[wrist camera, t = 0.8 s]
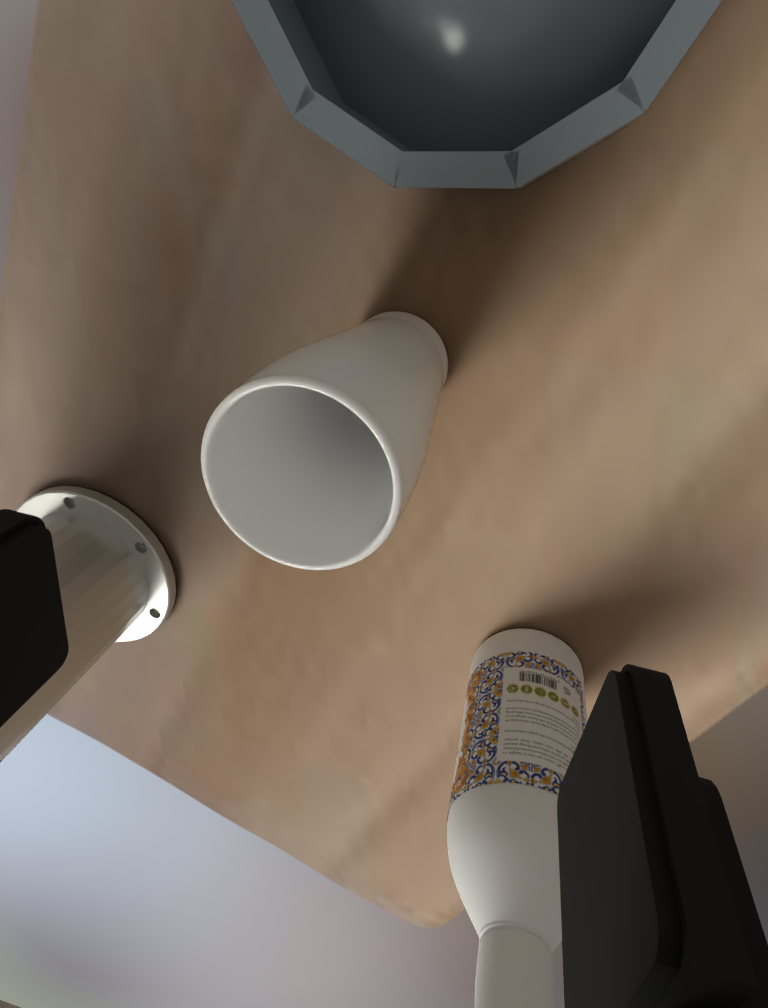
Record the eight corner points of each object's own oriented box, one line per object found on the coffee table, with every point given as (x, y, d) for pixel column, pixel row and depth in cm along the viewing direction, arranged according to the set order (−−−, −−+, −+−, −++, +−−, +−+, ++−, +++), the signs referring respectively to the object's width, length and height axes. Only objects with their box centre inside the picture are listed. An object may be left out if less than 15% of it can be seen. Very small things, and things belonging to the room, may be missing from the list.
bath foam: (465, 624, 38) (399, 982, 21) (579, 623, 36) (610, 1018, 19) (479, 706, 41) (431, 1079, 24) (585, 709, 39) (617, 1120, 22)
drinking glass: (350, 278, 30) (202, 345, 17) (480, 314, 29) (429, 412, 16) (327, 403, 33) (190, 538, 21) (444, 438, 33) (378, 600, 20)
